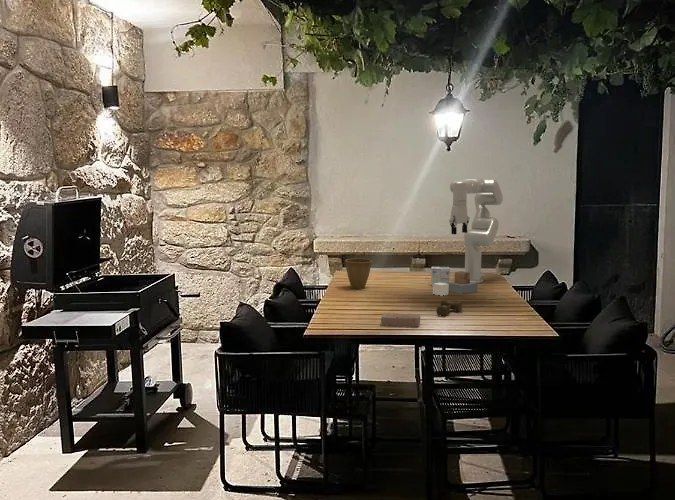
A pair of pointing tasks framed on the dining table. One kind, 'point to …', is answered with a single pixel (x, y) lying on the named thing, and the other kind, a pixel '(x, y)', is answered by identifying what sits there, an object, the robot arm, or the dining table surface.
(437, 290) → the off-white cube
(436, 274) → the light bulb box
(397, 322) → the brick
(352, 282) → the plant pot
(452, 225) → the robot arm
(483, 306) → the dining table surface
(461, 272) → the walnut cube
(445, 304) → the kendama
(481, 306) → the dining table surface
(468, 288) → the base block
